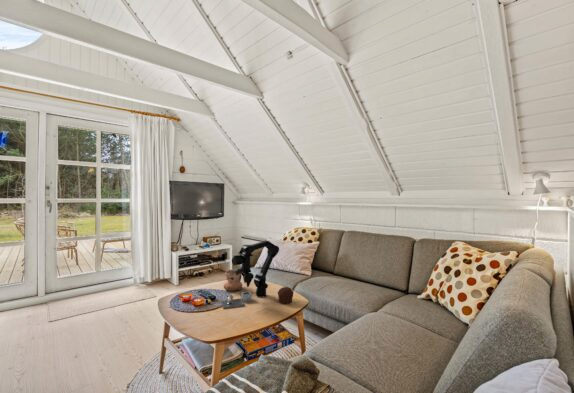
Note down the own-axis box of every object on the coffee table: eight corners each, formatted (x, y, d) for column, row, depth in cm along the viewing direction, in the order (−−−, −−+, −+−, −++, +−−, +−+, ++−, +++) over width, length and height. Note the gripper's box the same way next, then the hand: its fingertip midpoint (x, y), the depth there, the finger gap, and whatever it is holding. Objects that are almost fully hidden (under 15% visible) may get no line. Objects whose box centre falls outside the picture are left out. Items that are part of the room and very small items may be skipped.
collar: (249, 298, 208) (249, 291, 208) (251, 301, 202) (251, 294, 202) (241, 299, 206) (241, 292, 206) (243, 302, 200) (243, 295, 200)
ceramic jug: (232, 294, 215) (232, 275, 215) (218, 290, 223) (218, 272, 223) (248, 287, 230) (248, 270, 230) (235, 284, 238) (235, 267, 238)
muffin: (283, 297, 209) (283, 284, 209) (296, 301, 203) (296, 287, 203) (274, 303, 199) (274, 288, 199) (287, 306, 193) (287, 291, 193)
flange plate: (240, 299, 205) (240, 292, 205) (244, 306, 193) (244, 298, 193) (220, 302, 200) (220, 295, 200) (223, 309, 189) (223, 301, 188)
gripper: (232, 260, 209) (232, 282, 210) (237, 267, 192) (237, 290, 192) (247, 259, 213) (247, 280, 214) (253, 265, 196) (253, 288, 196)
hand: (246, 284), depth 204 cm, fingers open, 9 cm apart
